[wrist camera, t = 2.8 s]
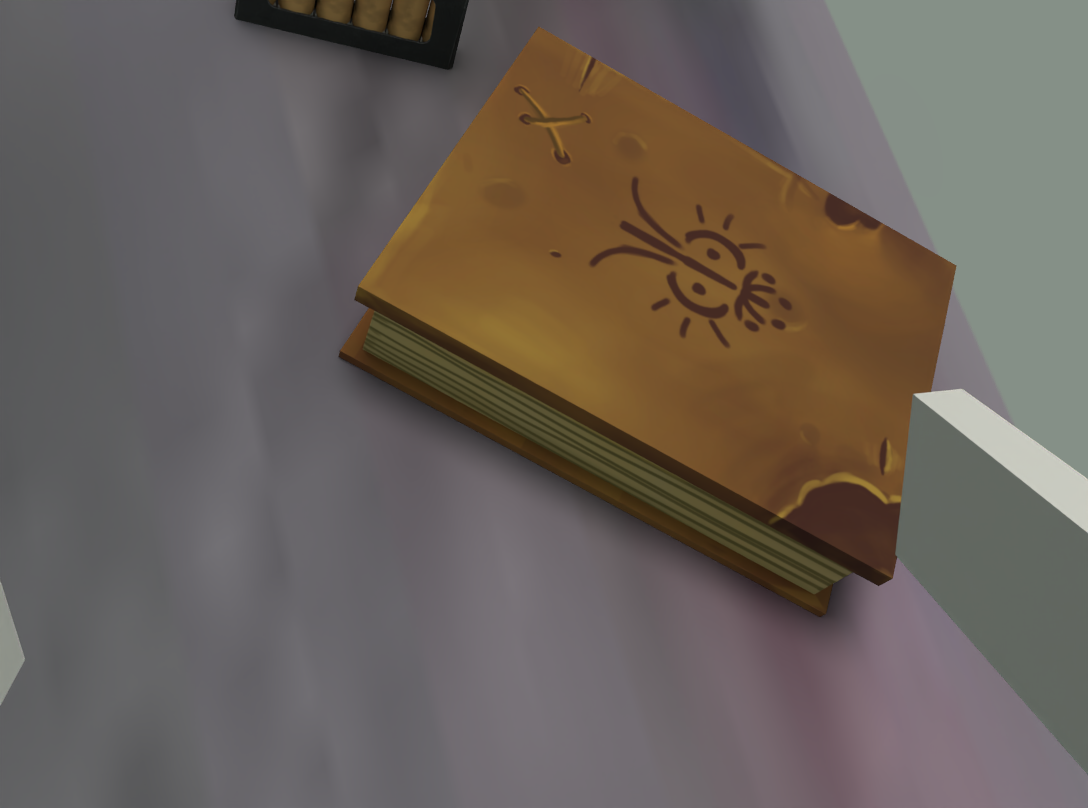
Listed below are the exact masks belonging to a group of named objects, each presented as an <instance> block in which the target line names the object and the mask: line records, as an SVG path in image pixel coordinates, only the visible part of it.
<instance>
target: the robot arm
mask: <svg viewBox="0 0 1088 808" xmlns="http://www.w3.org/2000/svg"><path fill="white" fill-rule="evenodd" d="M895 555H896V556H897V557H898V558H899V560H900V561H901V562H902V563H903V564H904V565H905V566H906V568H907V569H908V570H909V571H910V572H911V573H912V574H913V576H914V577H915V578H916V579H917V580H918V581H919V582H920V584H921V585H922V586H923V587H924V588H925V589H926V590H927V592H928V593H929V594H930V595H931V596H932V597H933V598H934V600H935V601H936V602H937V603H938V604H939V605H940V606H941V608H942V609H943V610H944V611H945V612H946V613H947V614H948V616H949V617H950V618H951V619H952V620H953V621H954V622H955V624H956V625H957V626H958V627H959V628H960V629H961V630H962V632H963V633H964V634H965V635H966V636H967V637H968V638H969V640H970V641H971V642H972V643H973V644H974V645H975V646H976V648H977V649H978V650H979V651H980V652H981V653H982V654H983V656H984V657H985V658H986V659H987V660H988V661H989V662H990V664H991V665H992V666H993V667H994V668H995V669H996V670H997V672H998V673H999V674H1000V675H1001V676H1002V677H1003V678H1004V680H1005V681H1006V682H1007V683H1008V684H1009V685H1010V686H1011V688H1012V689H1013V690H1014V691H1015V692H1016V693H1017V694H1018V696H1019V697H1020V698H1021V699H1022V700H1023V701H1024V702H1025V704H1026V705H1027V706H1028V707H1029V708H1030V709H1031V710H1032V712H1033V713H1034V714H1035V715H1036V716H1037V717H1038V718H1039V720H1040V721H1041V722H1042V723H1043V724H1044V725H1045V726H1046V728H1047V729H1048V730H1049V731H1050V732H1051V733H1052V734H1053V736H1054V737H1055V738H1056V739H1057V740H1058V741H1059V742H1060V744H1061V745H1062V746H1063V747H1064V748H1065V749H1066V750H1067V752H1068V753H1069V754H1070V755H1071V756H1072V757H1073V758H1074V760H1075V761H1076V762H1077V763H1078V764H1079V765H1080V766H1081V768H1082V769H1083V770H1084V771H1085V772H1086V773H1087V774H1088V479H1087V478H1085V477H1084V476H1083V475H1081V474H1080V473H1079V472H1077V471H1076V470H1074V469H1073V468H1072V467H1070V466H1069V465H1067V464H1066V463H1065V462H1063V461H1062V460H1060V459H1059V458H1058V457H1056V456H1055V455H1054V454H1052V453H1051V452H1049V451H1048V450H1047V449H1045V448H1043V447H1042V446H1041V445H1040V444H1038V443H1037V442H1035V441H1034V440H1033V439H1031V438H1030V437H1028V436H1027V435H1026V434H1024V433H1023V432H1021V431H1020V430H1019V429H1017V428H1016V427H1015V426H1013V425H1012V424H1010V423H1009V422H1008V421H1006V420H1005V419H1003V418H1002V417H1001V416H999V415H998V414H996V413H995V412H994V411H992V410H991V409H989V408H988V407H987V406H985V405H984V404H982V403H981V402H980V401H978V400H977V399H976V398H974V397H973V396H971V395H970V394H969V393H967V392H966V391H964V390H963V389H956V390H947V391H937V392H927V393H917V394H913V398H912V407H911V416H910V425H909V434H908V443H907V452H906V461H905V471H904V480H903V489H902V498H901V507H900V516H899V525H898V534H897V543H896V552H895ZM24 661H25V658H24V654H23V651H22V648H21V645H20V642H19V639H18V635H17V632H16V629H15V626H14V623H13V619H12V616H11V613H10V610H9V607H8V603H7V600H6V597H5V594H4V591H3V588H2V584H1V581H0V705H1V703H2V701H3V700H4V698H5V696H6V694H7V692H8V690H9V689H10V687H11V685H12V683H13V681H14V679H15V677H16V676H17V674H18V672H19V670H20V668H21V666H22V664H23V663H24Z"/></svg>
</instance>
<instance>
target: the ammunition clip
mask: <svg viewBox="0 0 1088 808" xmlns="http://www.w3.org/2000/svg"><path fill="white" fill-rule="evenodd" d="M429 2H430V0H393V4H392V8H391V10H390V7H391V3H392V0H355V1H354V0H236V7H235V14H234V16H235V18H236V19H238V20H242V21H246V22H250V23H254V24H259V25H263V26H267V27H271V28H275V29H280V30H284V31H288V32H292V33H296V34H301V35H305V36H309V37H313V38H318V39H322V40H326V41H330V42H334V43H339V44H343V45H347V46H351V47H355V48H360V49H364V50H368V51H372V52H376V53H381V54H385V55H389V56H393V57H398V58H402V59H406V60H410V61H414V62H419V63H423V64H427V65H431V66H435V67H440V68H444V69H450V68H452V67H453V63H454V59H455V55H456V51H457V47H458V43H459V38H460V34H461V30H462V26H463V22H464V18H465V14H466V10H467V6H468V2H469V0H431V3H430V7H429V10H428V14H427V18H425V17H426V13H427V9H428V5H429Z"/></svg>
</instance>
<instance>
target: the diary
mask: <svg viewBox="0 0 1088 808" xmlns="http://www.w3.org/2000/svg"><path fill="white" fill-rule="evenodd" d="M955 270H956V265H954V264H952V263H951V262H949V261H947V260H946V259H944V258H942V257H940V256H939V255H937V254H935V253H933V252H932V251H930V250H928V249H926V248H925V247H923V246H921V245H919V244H918V243H916V242H914V241H912V240H911V239H909V238H907V237H905V236H904V235H902V234H900V233H898V232H897V231H895V230H893V229H891V228H890V227H888V226H886V225H884V224H883V223H881V222H879V221H877V220H876V219H874V218H872V217H871V216H869V215H867V214H865V213H864V212H862V211H860V210H858V209H857V208H855V207H853V206H851V205H850V204H848V203H846V202H844V201H843V200H841V199H839V198H837V197H836V196H834V195H832V194H830V193H829V192H827V191H825V190H823V189H822V188H820V187H818V186H816V185H815V184H813V183H811V182H809V181H808V180H806V179H804V178H802V177H801V176H799V175H797V174H795V173H794V172H792V171H790V170H788V169H787V168H785V167H783V166H781V165H780V164H778V163H776V162H774V161H773V160H771V159H769V158H767V157H766V156H764V155H762V154H760V153H759V152H757V151H755V150H753V149H752V148H750V147H748V146H746V145H745V144H743V143H741V142H739V141H738V140H736V139H734V138H732V137H731V136H729V135H727V134H725V133H724V132H722V131H720V130H718V129H717V128H715V127H713V126H711V125H710V124H708V123H706V122H705V121H703V120H701V119H699V118H698V117H696V116H694V115H692V114H691V113H689V112H687V111H685V110H684V109H682V108H680V107H678V106H677V105H675V104H673V103H671V102H670V101H668V100H666V99H664V98H663V97H661V96H659V95H657V94H656V93H654V92H652V91H650V90H649V89H647V88H645V87H643V86H642V85H640V84H638V83H636V82H635V81H633V80H631V79H629V78H628V77H626V76H624V75H622V74H621V73H619V72H617V71H615V70H614V69H612V68H610V67H608V66H607V65H605V64H603V63H601V62H600V61H598V60H596V59H594V58H593V57H591V56H589V55H587V54H586V53H584V52H582V51H580V50H579V49H577V48H575V47H573V46H572V45H570V44H568V43H566V42H565V41H563V40H561V39H559V38H558V37H556V36H554V35H552V34H551V33H549V32H547V31H545V30H544V29H542V28H540V27H538V28H537V30H536V31H535V33H534V34H533V36H532V37H531V38H530V40H529V41H528V43H527V44H526V46H525V47H524V49H523V50H522V51H521V53H520V54H519V56H518V57H517V59H516V60H515V61H514V63H513V64H512V66H511V67H510V69H509V70H508V72H507V73H506V74H505V76H504V77H503V79H502V80H501V82H500V83H499V84H498V86H497V87H496V89H495V90H494V92H493V93H492V95H491V96H490V97H489V99H488V100H487V102H486V103H485V105H484V106H483V107H482V109H481V110H480V112H479V113H478V115H477V116H476V118H475V119H474V120H473V122H472V123H471V125H470V126H469V128H468V129H467V130H466V132H465V133H464V135H463V136H462V138H461V139H460V141H459V142H458V143H457V145H456V146H455V148H454V149H453V151H452V152H451V153H450V155H449V156H448V158H447V159H446V161H445V162H444V164H443V165H442V166H441V168H440V169H439V171H438V172H437V174H436V175H435V176H434V178H433V179H432V181H431V182H430V184H429V185H428V187H427V188H426V189H425V191H424V192H423V194H422V195H421V197H420V198H419V199H418V201H417V202H416V204H415V205H414V207H413V208H412V210H411V211H410V212H409V214H408V215H407V217H406V218H405V220H404V221H403V222H402V224H401V225H400V227H399V228H398V230H397V231H396V233H395V234H394V235H393V237H392V238H391V240H390V241H389V243H388V244H387V245H386V247H385V248H384V250H383V251H382V253H381V254H380V256H379V257H378V258H377V260H376V261H375V263H374V264H373V266H372V267H371V268H370V270H369V271H368V273H367V274H366V276H365V277H364V279H363V280H362V281H361V283H360V284H359V286H358V289H357V292H356V296H355V299H354V300H356V301H358V302H359V303H361V304H363V305H365V306H367V307H369V309H368V310H367V312H366V313H365V315H364V316H363V318H362V319H361V321H360V322H359V324H358V325H357V327H356V328H355V330H354V331H353V333H352V334H351V336H350V337H349V338H348V340H347V341H346V343H345V344H344V346H343V347H342V349H341V350H340V353H339V357H340V358H342V359H344V360H346V361H348V362H349V363H351V364H353V365H355V366H357V367H359V368H361V369H362V370H364V371H366V372H368V373H370V374H372V375H373V376H375V377H377V378H379V379H381V380H383V381H385V382H386V383H388V384H390V385H392V386H394V387H396V388H398V389H399V390H401V391H403V392H405V393H407V394H409V395H410V396H412V397H414V398H416V399H418V400H420V401H422V402H423V403H425V404H427V405H429V406H431V407H433V408H434V409H436V410H438V411H440V412H442V413H444V414H446V415H447V416H449V417H451V418H453V419H455V420H457V421H459V422H460V423H462V424H464V425H466V426H468V427H470V428H471V429H473V430H475V431H477V432H479V433H481V434H483V435H484V436H486V437H488V438H490V439H492V440H494V441H495V442H497V443H499V444H501V445H503V446H505V447H507V448H508V449H510V450H512V451H514V452H516V453H518V454H520V455H521V456H523V457H525V458H527V459H529V460H531V461H532V462H534V463H536V464H538V465H540V466H542V467H544V468H545V469H547V470H549V471H551V472H553V473H555V474H556V475H558V476H560V477H562V478H564V479H566V480H568V481H569V482H571V483H573V484H575V485H577V486H579V487H581V488H582V489H584V490H586V491H588V492H590V493H592V494H593V495H595V496H597V497H599V498H601V499H603V500H605V501H606V502H608V503H610V504H612V505H614V506H616V507H617V508H619V509H621V510H623V511H625V512H627V513H629V514H630V515H632V516H634V517H636V518H638V519H640V520H642V521H643V522H645V523H647V524H649V525H651V526H653V527H654V528H656V529H658V530H660V531H662V532H664V533H666V534H667V535H669V536H671V537H673V538H675V539H677V540H678V541H680V542H682V543H684V544H686V545H688V546H690V547H691V548H693V549H695V550H697V551H699V552H701V553H703V554H704V555H706V556H708V557H710V558H712V559H714V560H715V561H717V562H719V563H721V564H723V565H725V566H727V567H728V568H730V569H732V570H734V571H736V572H738V573H739V574H741V575H743V576H745V577H747V578H749V579H751V580H752V581H754V582H756V583H758V584H760V585H762V586H764V587H765V588H767V589H769V590H771V591H773V592H775V593H776V594H778V595H780V596H782V597H784V598H786V599H788V600H789V601H791V602H793V603H795V604H797V605H799V606H800V607H802V608H804V609H806V610H808V611H810V612H812V613H813V614H815V615H817V616H819V617H821V616H823V615H825V614H826V611H827V607H828V603H829V599H830V595H831V591H832V587H833V583H835V582H837V581H839V580H840V579H842V578H844V577H846V576H847V575H849V574H851V573H853V572H854V573H856V574H858V575H859V576H861V577H863V578H865V579H867V580H869V581H870V582H872V583H874V584H876V585H878V586H879V585H881V584H883V583H885V582H887V581H889V580H891V579H893V574H894V569H895V564H896V559H897V556H896V555H895V552H896V543H897V534H898V525H899V516H900V507H901V498H902V489H903V480H904V471H905V461H906V452H907V443H908V434H909V425H910V416H911V407H912V398H913V394H917V393H927V392H931V388H932V383H933V378H934V373H935V368H936V363H937V358H938V354H939V349H940V344H941V339H942V334H943V329H944V324H945V319H946V314H947V309H948V305H949V300H950V295H951V290H952V285H953V280H954V275H955Z"/></svg>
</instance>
